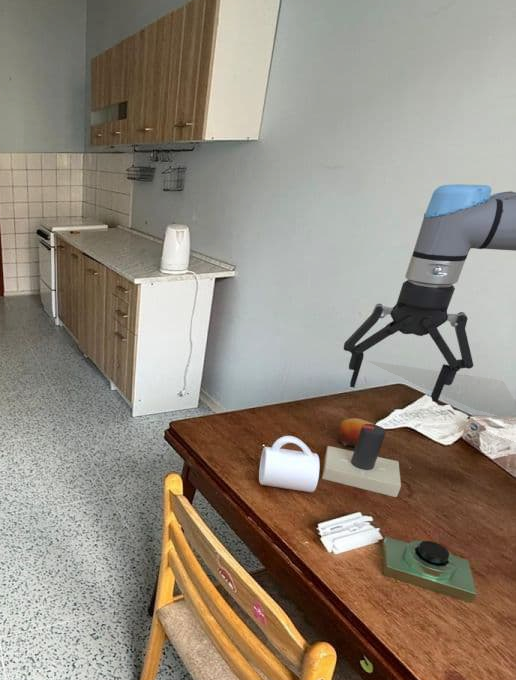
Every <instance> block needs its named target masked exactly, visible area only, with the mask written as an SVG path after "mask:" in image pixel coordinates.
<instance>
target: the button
mask: <svg viewBox="0 0 516 680" xmlns="http://www.w3.org/2000/svg"><path fill="white" fill-rule="evenodd" d="M422 541H423V542H421V543H420V545H419V547H418V549H417V555H418V556H419V558H420V559H422V560H424V561H426V562H427V563H429V564H432V565H436V566H443V565H445V563H446V561H447V559H448V557H449V552H450V551H449V550H448V549H447V548H446V547H445V546H444V545H442V544H440V543H438V542H435V541H432V540H422ZM448 551H449V552H448Z"/></svg>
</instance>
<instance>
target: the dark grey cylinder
mask: <svg viewBox="0 0 516 680" xmlns="http://www.w3.org/2000/svg"><path fill="white" fill-rule="evenodd" d="M386 434H387V430H386V429H385V428H384V427H383V426H379V425H377V424H374V423H373V424H364V425H362V428H361V431H360V434H359V437H358V440H357V443H356V447H354V450H353V451H354V453H353V456H352V459H351V463H352V465H353V466H355V467H357V468H359V469H363V470H371V469H373V468H374V466H375V463H376V460H377V457H379V454H380V451H381V448H382V445H383V442H384V439H385V437H386Z"/></svg>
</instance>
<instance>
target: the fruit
mask: <svg viewBox="0 0 516 680" xmlns="http://www.w3.org/2000/svg"><path fill="white" fill-rule="evenodd" d="M364 424H374V423H373V422H370V421H367V420H363V418H362V419H361V418H355V417H354V418H353V417H352V418H347V419H344V420H342V421H341V424H340V426H339V431H338V433H339V440H340V442H341V443H342V445H343V447H346V446H351V447H353V448H355V447H356V443H357V440H358V437H359V434H360V431H361V428H362V425H364Z"/></svg>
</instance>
